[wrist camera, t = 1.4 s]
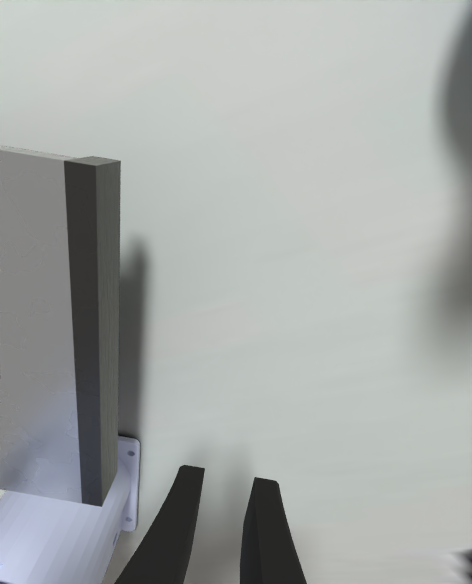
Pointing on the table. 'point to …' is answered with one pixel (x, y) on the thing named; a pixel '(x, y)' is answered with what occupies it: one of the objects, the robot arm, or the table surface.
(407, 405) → the table surface
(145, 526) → the table surface
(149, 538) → the robot arm
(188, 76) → the table surface
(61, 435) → the cooker lid
